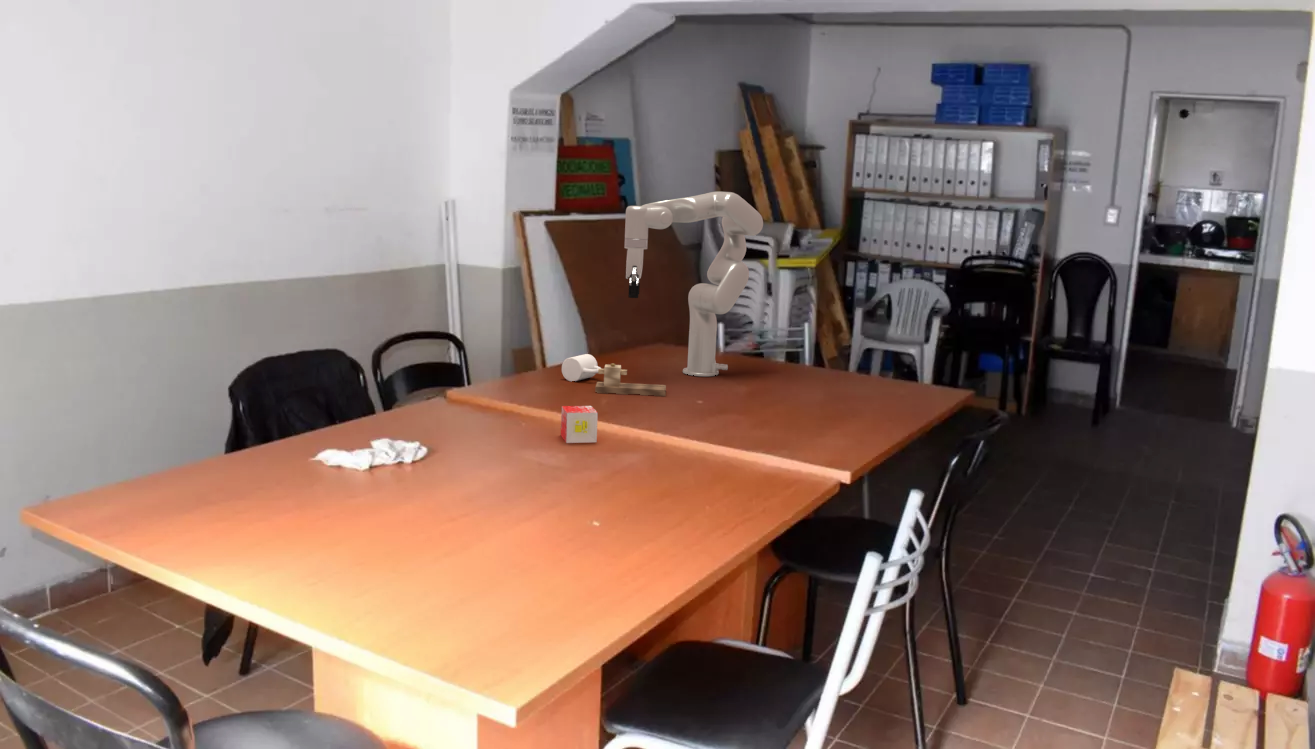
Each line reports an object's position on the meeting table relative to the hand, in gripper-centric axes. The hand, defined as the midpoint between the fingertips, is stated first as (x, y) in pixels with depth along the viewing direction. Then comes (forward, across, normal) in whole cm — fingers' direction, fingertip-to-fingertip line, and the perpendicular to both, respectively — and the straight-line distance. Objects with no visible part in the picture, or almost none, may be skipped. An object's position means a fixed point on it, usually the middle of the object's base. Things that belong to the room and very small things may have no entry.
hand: (633, 296), depth 357 cm
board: (+28, +20, +1) cm, 35 cm away
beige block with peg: (+26, +20, -5) cm, 33 cm away
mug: (+28, +4, -15) cm, 33 cm away
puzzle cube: (+28, +83, -10) cm, 88 cm away
